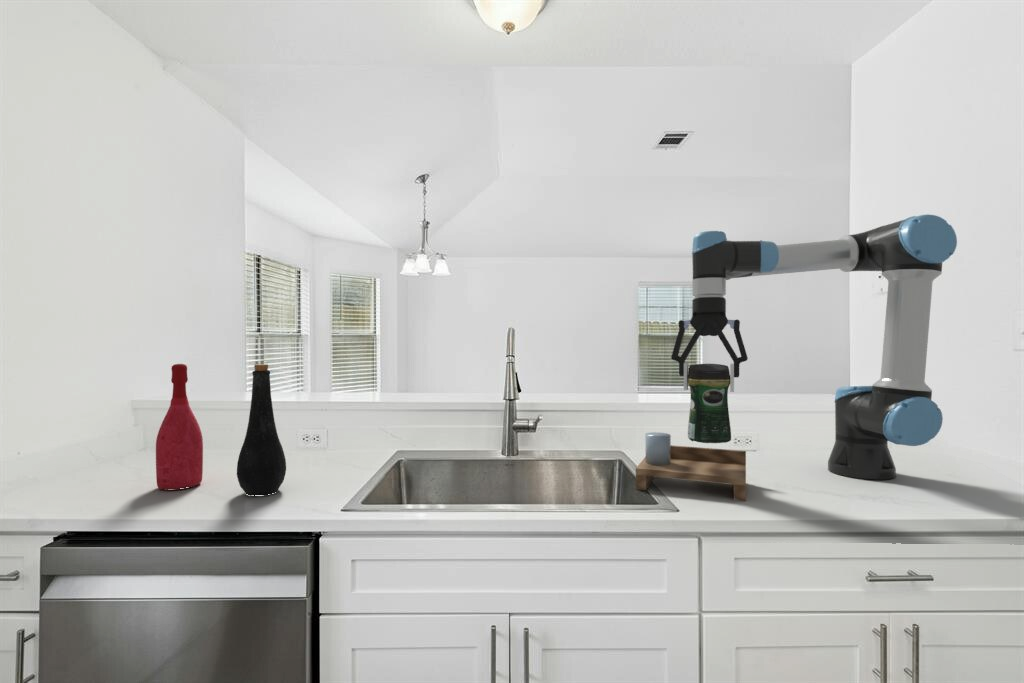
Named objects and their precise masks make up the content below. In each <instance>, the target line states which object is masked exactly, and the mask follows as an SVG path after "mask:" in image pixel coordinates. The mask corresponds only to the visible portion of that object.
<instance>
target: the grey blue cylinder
mask: <svg viewBox="0 0 1024 683" xmlns="http://www.w3.org/2000/svg"><path fill="white" fill-rule="evenodd" d="M671 440H672V439H671V434H670V433H667V432H656V431H655V432H646V433H645V457H646V463H647V464H651V465H669V464H671V442H672V441H671Z"/></svg>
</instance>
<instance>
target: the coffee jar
mask: <svg viewBox="0 0 1024 683" xmlns="http://www.w3.org/2000/svg"><path fill="white" fill-rule="evenodd" d="M729 368H730V367H729V366H728V365H725V364H721V363H720V364H719V363H696V364H691V365H689V366H688V387H689V389H690V390H689V391H690V405H689V415H688V424H687V438H688V439H689V440H690V441H691V442H697V443H702V444H724V443H726V444H727V443H729V442H730V441H732V430H731V421H730V412H729V404H728V402H729V401H728V396H729V395H728V393H729V389H730V369H729Z"/></svg>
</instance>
